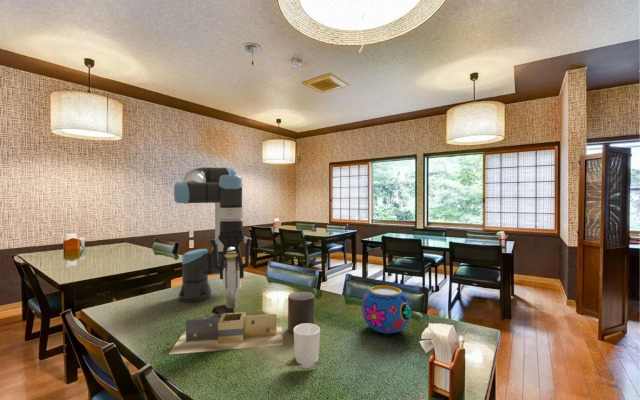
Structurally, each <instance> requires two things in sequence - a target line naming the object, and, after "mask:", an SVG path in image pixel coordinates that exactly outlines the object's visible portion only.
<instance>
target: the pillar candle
mask: <svg viewBox="0 0 640 400" xmlns="http://www.w3.org/2000/svg"><path fill="white" fill-rule="evenodd" d="M315 316H316V315H315V294H314V293H312V292H309V291H296V292H291V293H290V294H288V298H287V333H289V335H292V336H294V327H295V326H297V325H299V324H304V323H311V324H315ZM315 325H316V324H315Z"/></svg>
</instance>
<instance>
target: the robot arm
mask: <svg viewBox="0 0 640 400" xmlns="http://www.w3.org/2000/svg"><path fill="white" fill-rule="evenodd" d="M243 185H244V184H243V177H242V176H241V175H239V174H238V172H237V170H236V169H235V168H233V167H206V166H205V167H198V168H194V169H190V170H189V171H188V172H186V174H184V176H183V180H182V181H181V182H179V181H177V182H175V183H174V187H173V196H174V197H173V198H174V202H175V203H177V204H185V205H186V204H214V238H212V239H211V240H210V244H211V246H212V247H211V251H209V250H208V248H199V249H194V250H189V251H187V252H185V253H183V254H182V261H181V265H182V271H181V272H182V280H181V281H182V284H181V287H180V290H179V292H178V301H179V302H182V303H196V302H201V301H206V300H208V299H209V298H211V297H212V296H213V294H212V293H213V292H212V288H211V286H210V283H209V277H208V276H213V275H219V279H220V280H222V290H225V291H226V258H224V254H226V253H227V252H236V253H239V257H237V259H238V270H237V289H238V290H240V289H241V287H242V286H241V284H242V283H241V281H242V280H241V279H243V278H244V276H245V273H244V272H245V269H246V268H249V265H250V250H251V249H250V244H251V242H252V237H247V236H246V235H245V234H244V231H243V230H244V227H243V226H244V224H243V223H244V222H243V220H242V219H243V213H244V211H243ZM243 241H244V244H245V247H244V251H245V253H244V261H243V256H242V252H241V246H240V244H241V243H242V242H243Z"/></svg>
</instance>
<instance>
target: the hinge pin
mask: <svg viewBox="0 0 640 400" xmlns="http://www.w3.org/2000/svg"><path fill="white" fill-rule="evenodd" d="M237 257H239V253H236V252H227V253H226V254H224V258H226V290H225V305H226V307H227V308H234V309H235V308H237V307H238V306H239V289H237V270H238V268H239V264H238V259H237Z"/></svg>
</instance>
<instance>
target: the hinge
mask: <svg viewBox="0 0 640 400" xmlns="http://www.w3.org/2000/svg"><path fill="white" fill-rule="evenodd" d="M276 324H277V313H270V314H269V313H267V314H253V315H246V311H241V312H239V311H238V312H235V313H222V315H221V317H220V318H205V319H199V318H191V319H186V320H185V331H186V342H189V341H202V340H215V339H218V344H227V343H239V342H243V341H244V337H254V336H267V335H277V328H276Z"/></svg>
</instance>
